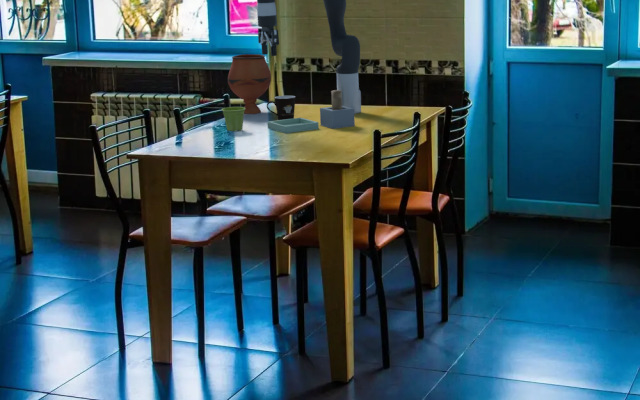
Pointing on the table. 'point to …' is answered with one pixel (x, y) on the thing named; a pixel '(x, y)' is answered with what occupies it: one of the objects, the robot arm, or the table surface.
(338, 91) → the dowel
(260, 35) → the robot arm
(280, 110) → the coffee mug
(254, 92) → the goblet
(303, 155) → the table surface
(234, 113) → the plant pot
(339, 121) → the blue storage bin
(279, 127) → the tray
